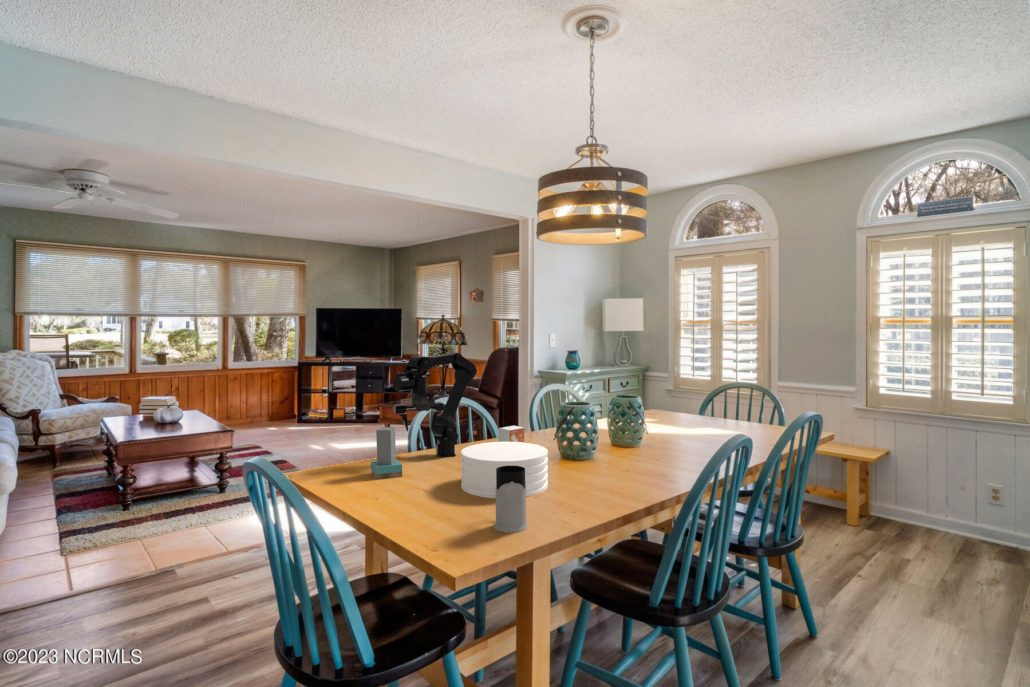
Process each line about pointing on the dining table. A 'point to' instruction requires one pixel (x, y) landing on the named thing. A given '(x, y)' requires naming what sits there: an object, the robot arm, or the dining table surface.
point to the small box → (511, 434)
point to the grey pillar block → (386, 446)
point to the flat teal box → (386, 475)
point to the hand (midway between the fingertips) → (419, 430)
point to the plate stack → (489, 456)
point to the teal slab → (386, 467)
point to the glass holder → (510, 499)
